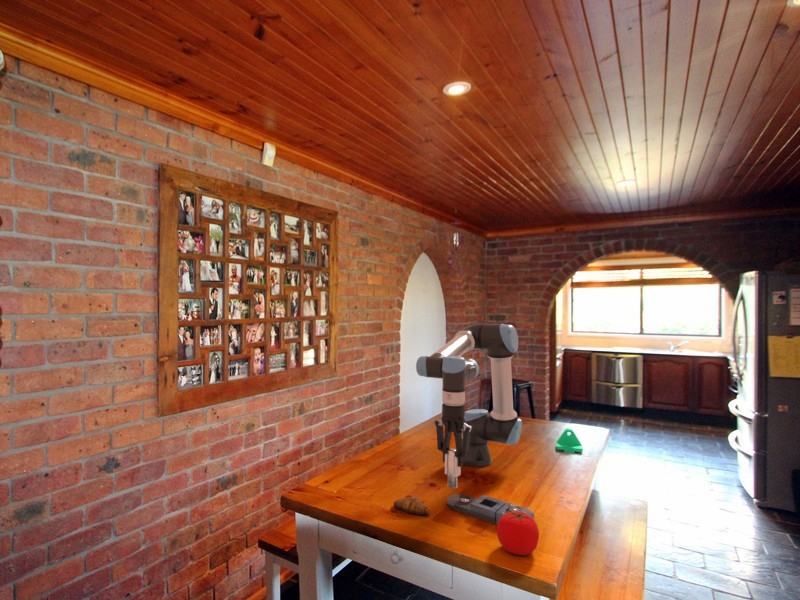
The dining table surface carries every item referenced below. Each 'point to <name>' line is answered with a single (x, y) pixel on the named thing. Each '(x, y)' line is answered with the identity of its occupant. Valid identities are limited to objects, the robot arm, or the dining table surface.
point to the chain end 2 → (496, 507)
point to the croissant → (411, 506)
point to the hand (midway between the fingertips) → (452, 474)
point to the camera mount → (569, 442)
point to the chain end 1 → (466, 507)
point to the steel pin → (452, 468)
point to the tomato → (518, 533)
